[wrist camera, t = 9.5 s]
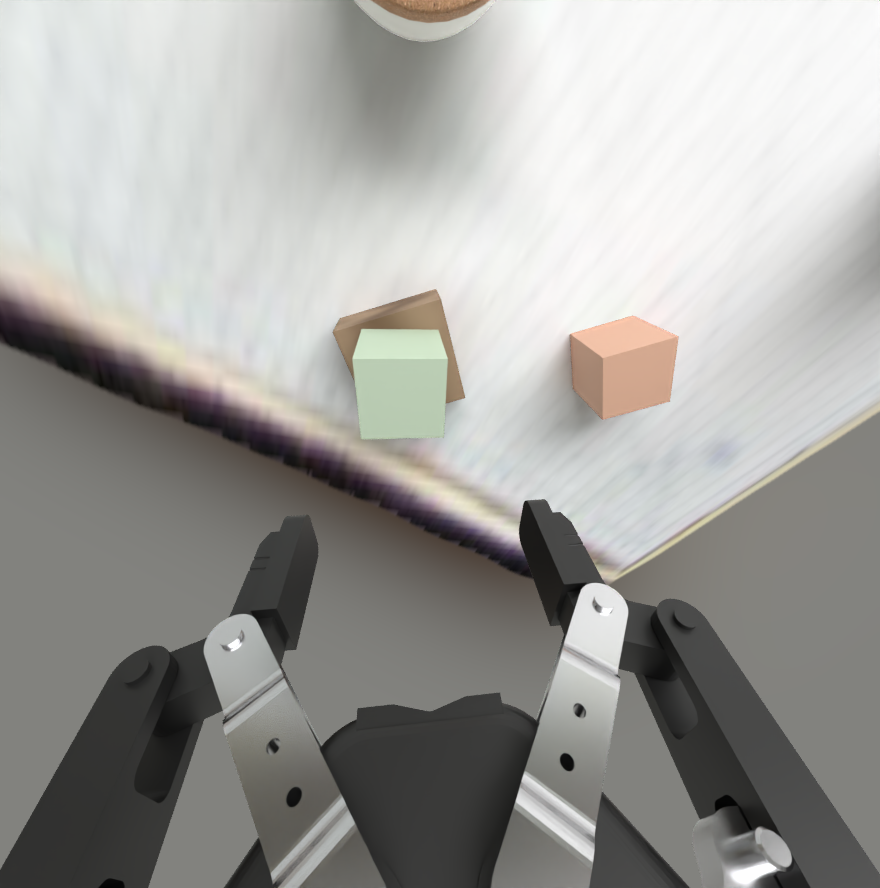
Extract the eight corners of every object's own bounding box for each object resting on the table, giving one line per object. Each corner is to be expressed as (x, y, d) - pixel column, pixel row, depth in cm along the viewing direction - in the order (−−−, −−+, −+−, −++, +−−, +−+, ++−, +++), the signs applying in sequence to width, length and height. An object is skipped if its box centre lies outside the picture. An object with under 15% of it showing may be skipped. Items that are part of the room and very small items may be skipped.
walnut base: (435, 288, 28) (440, 299, 24) (458, 378, 32) (465, 397, 29) (340, 317, 28) (332, 332, 25) (375, 402, 33) (373, 424, 29)
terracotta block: (632, 315, 30) (678, 336, 25) (629, 372, 33) (669, 401, 28) (569, 333, 31) (603, 357, 26) (572, 388, 34) (602, 419, 29)
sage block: (438, 329, 25) (447, 358, 20) (436, 397, 28) (443, 437, 24) (361, 329, 25) (352, 358, 20) (367, 398, 28) (361, 439, 23)
